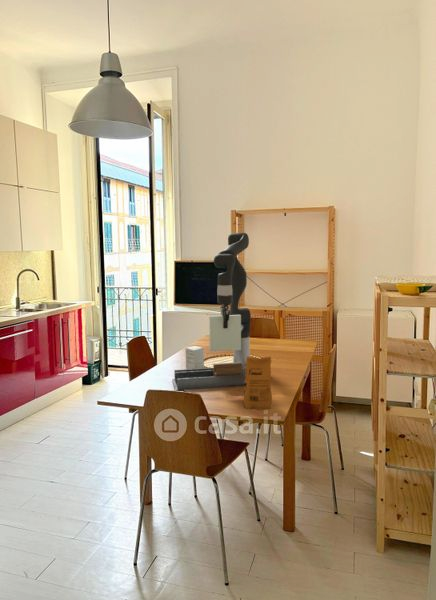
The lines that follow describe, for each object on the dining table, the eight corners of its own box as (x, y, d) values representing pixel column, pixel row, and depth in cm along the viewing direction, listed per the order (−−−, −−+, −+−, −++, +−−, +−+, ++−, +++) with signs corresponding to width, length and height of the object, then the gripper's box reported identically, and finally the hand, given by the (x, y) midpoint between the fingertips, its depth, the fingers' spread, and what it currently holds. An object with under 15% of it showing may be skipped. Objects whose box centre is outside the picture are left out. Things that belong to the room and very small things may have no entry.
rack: (172, 381, 245) (172, 369, 244) (244, 377, 252) (244, 365, 251) (175, 393, 227) (175, 380, 226) (253, 388, 233) (253, 375, 232)
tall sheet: (209, 350, 243) (209, 316, 241) (240, 349, 246) (240, 314, 244) (210, 351, 242) (209, 316, 239) (240, 350, 244) (240, 315, 242)
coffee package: (243, 401, 215) (243, 353, 212) (271, 401, 215) (271, 353, 212) (243, 409, 206) (242, 359, 203) (272, 409, 205) (272, 359, 202)
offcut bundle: (213, 381, 240) (213, 363, 239) (240, 379, 243) (240, 362, 241) (215, 384, 234) (215, 367, 233) (243, 383, 237) (243, 365, 236)
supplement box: (195, 367, 271) (195, 345, 270) (204, 369, 266) (204, 347, 264) (185, 369, 266) (185, 347, 265) (194, 372, 261) (194, 349, 259)
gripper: (215, 292, 246) (215, 325, 248) (219, 295, 232) (220, 330, 235) (229, 292, 247) (229, 325, 250) (235, 295, 234) (235, 330, 236)
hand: (225, 327), depth 242 cm, fingers closed on tall sheet, 1 cm apart
